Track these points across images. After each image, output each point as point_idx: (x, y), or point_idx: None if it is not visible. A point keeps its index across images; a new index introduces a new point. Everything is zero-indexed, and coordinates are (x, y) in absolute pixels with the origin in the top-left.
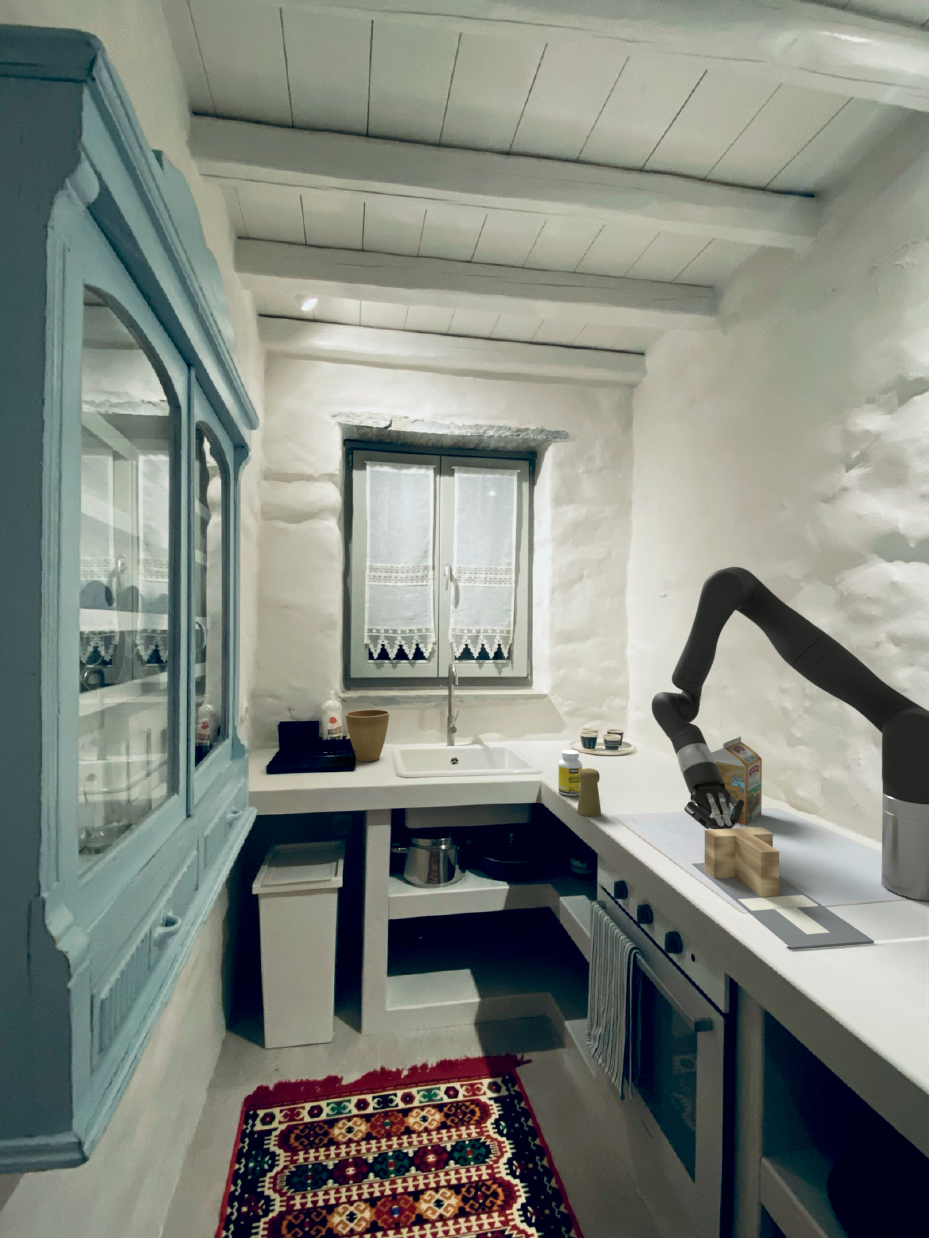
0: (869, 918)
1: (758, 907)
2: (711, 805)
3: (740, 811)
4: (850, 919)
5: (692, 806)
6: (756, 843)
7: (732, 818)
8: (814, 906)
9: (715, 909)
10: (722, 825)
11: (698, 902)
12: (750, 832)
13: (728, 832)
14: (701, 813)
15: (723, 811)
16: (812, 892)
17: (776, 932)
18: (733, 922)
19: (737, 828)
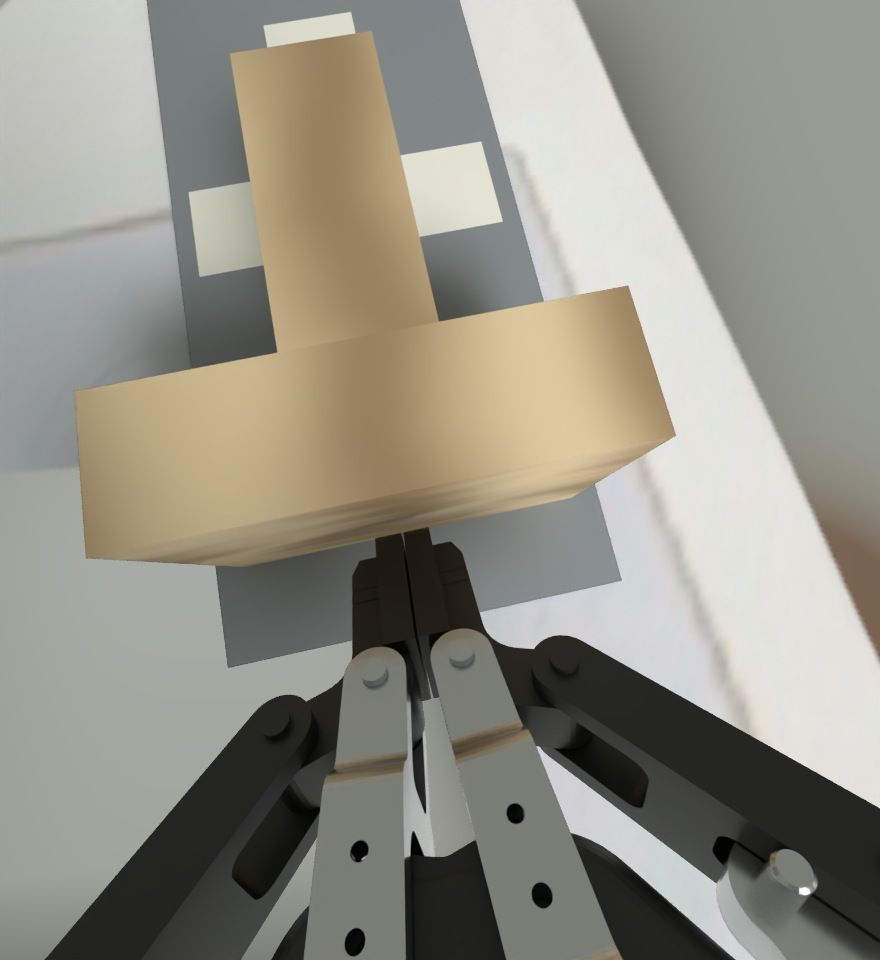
0: (44, 143)
1: (443, 165)
2: (568, 868)
3: (139, 864)
4: (123, 132)
5: (863, 829)
6: (329, 178)
7: (304, 737)
8: (209, 186)
9: (610, 167)
10: (446, 638)
11: (665, 213)
12: (269, 405)
13: (473, 389)
14: (691, 735)
15: (398, 780)
16: (134, 329)
17: (450, 16)
18: (570, 88)
19: (349, 498)
